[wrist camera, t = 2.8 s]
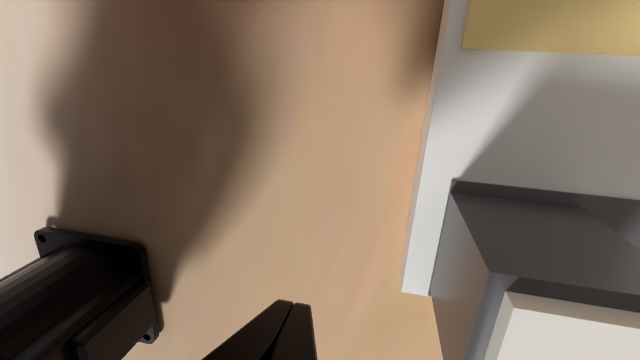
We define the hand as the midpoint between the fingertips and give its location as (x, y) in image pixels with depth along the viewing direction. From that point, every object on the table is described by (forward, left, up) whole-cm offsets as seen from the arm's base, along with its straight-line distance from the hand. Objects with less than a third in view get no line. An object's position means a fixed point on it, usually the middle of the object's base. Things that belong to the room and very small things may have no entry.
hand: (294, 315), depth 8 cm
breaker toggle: (+6, 0, -5) cm, 8 cm away
